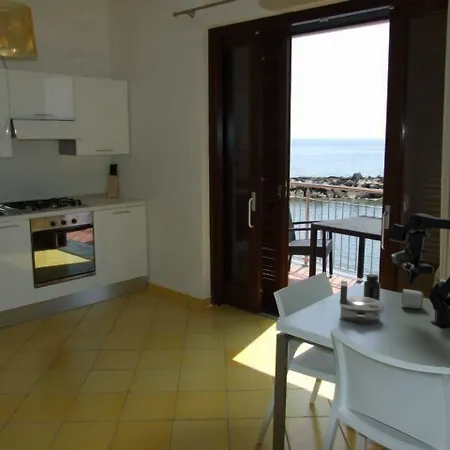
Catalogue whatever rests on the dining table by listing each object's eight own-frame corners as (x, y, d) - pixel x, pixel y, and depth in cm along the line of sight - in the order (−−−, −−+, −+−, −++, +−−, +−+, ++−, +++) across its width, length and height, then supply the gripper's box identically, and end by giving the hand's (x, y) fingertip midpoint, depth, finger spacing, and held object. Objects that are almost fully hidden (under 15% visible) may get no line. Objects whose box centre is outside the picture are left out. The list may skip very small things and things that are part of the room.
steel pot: (378, 310, 211) (378, 298, 210) (381, 330, 187) (382, 317, 186) (340, 307, 214) (341, 295, 213) (339, 327, 190) (340, 314, 189)
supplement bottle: (377, 300, 224) (379, 273, 223) (381, 305, 218) (382, 277, 216) (361, 299, 225) (363, 273, 223) (364, 304, 218) (365, 277, 217)
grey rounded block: (422, 311, 210) (424, 292, 209) (401, 309, 212) (402, 291, 211) (420, 304, 220) (421, 286, 219) (400, 302, 222) (401, 285, 221)
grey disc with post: (380, 300, 205) (381, 280, 204) (383, 313, 190) (384, 291, 189) (339, 297, 209) (340, 278, 208) (339, 309, 194) (339, 288, 192)
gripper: (384, 239, 205) (379, 277, 209) (410, 252, 188) (404, 292, 191) (408, 240, 208) (403, 276, 211) (437, 252, 190) (430, 292, 193)
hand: (409, 284), depth 202 cm, fingers closed
